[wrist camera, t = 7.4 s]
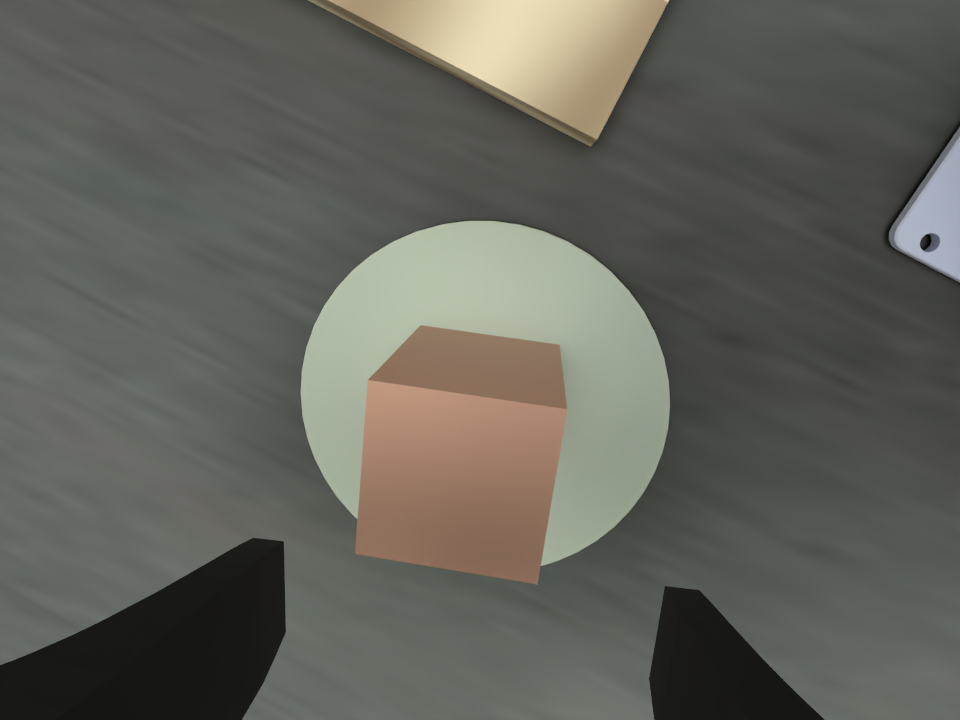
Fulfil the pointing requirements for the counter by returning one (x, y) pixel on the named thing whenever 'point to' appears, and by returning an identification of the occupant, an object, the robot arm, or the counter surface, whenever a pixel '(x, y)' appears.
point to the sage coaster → (507, 313)
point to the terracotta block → (462, 453)
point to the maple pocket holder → (522, 49)
